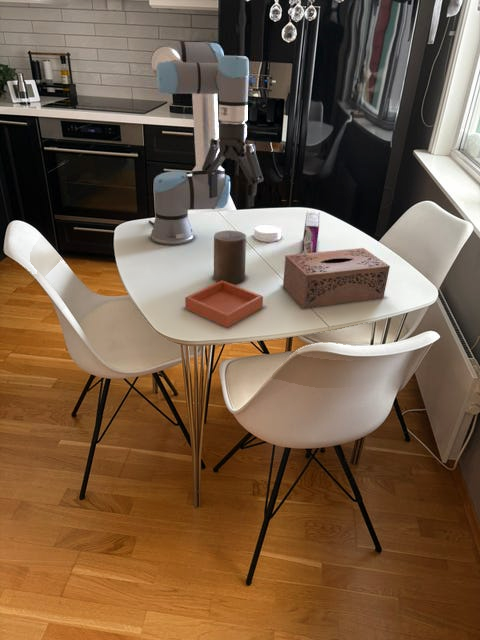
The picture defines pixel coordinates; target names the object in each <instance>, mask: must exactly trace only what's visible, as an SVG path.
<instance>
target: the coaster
mask: <svg viewBox="0 0 480 640" xmlns="http://www.w3.org/2000/svg"><path fill="white" fill-rule="evenodd" d="M253 231H254V232H253V233H254V234H253V238H254V239H256V240H257V241H259V242H266V243H271V242H278V241H279V240H281V236H282V233H281V232H282V229H281V228H280V227H279V226H276V225H274V224H273V225H272V224H261V225H257V226H255V227H254V230H253Z"/></svg>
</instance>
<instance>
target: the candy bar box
mask: <svg viewBox="0 0 480 640" xmlns="http://www.w3.org/2000/svg"><path fill="white" fill-rule="evenodd" d="M320 215H321V213H320V212H313V211H306V215H305V222H304V229H303V236H302V247H301V254H305V253H316V252H317V247H318V239H319V232H320V231H319V230H320Z"/></svg>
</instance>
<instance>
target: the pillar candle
mask: <svg viewBox="0 0 480 640" xmlns="http://www.w3.org/2000/svg"><path fill="white" fill-rule="evenodd" d="M246 252H247V235H246V234H245V233H244V232H242V231H239V230H222V231H216V232H215V233H214V234H213V279H214V280H215V281H217V282H219V281H221V280H223V281H226V282H228V283H231V284H233V285H236V284H240V283H242V282H243V281H245V280H246V279H245V278H246V258H247V257H246V256H247V255H246V254H247V253H246Z"/></svg>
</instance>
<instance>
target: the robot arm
mask: <svg viewBox="0 0 480 640" xmlns="http://www.w3.org/2000/svg"><path fill="white" fill-rule="evenodd" d="M249 62H250V61H249V58H248V57H247V56H245V55H244V56H243V55H225V54H224V50H223V48H222V46H221V45H220V44H218V43H217V42H209V41H178V40H176V41H175V40H174V41H168V42H166V43H163V44H161V45H159V46H158V47H156V48H155V49H154V50H153V52H152V53H151V57H150V66H151V67H150V68H151V70H152V71H153V74H154V75H155V76H156V86H157V90H158V92H159V93H161V94H169V95H176V94H178V95H179V94H180V95H181V94H188V95H189V94H191V101H192V117H193V135H194V154H195V166H194V167H193V169H192V170H191V175H188V173H187V172H186V171H184V170H173V171H172V170H171V171H166V172H162V173H160V174H158V175H156V176H155V177H154V179H153V197H154V214H155V218H154V221H152V220H148V223H149V224H151V226H153V228H152V230H151V232H150V233H151V240H152V241H153V242H154V243H156V244H160V245H166V246H167V245H168V246H177V245H183V244H188V243H190V242H192V240H193V239H194V230H193V228H192V225H191V222H190V219H189V212H188V211H194V210H195V211H197V210H198V211H199V210H217V209H224V208H225V207H226V206H227V205H228V202H229V198H230V193H231V178H230V176H229V175H227V174H225V173H226V172H225V168H223V166H222V164H223V163H224V161H225V160H226V159H228V160H229V159H230V160H233V161H235V162H236V163H238V165H239V166H240V168H241V170H242V173H243V174H244V176H245V178H246V180H247V182H248V183H246V185H245V186H246V187H245V189H246V190H245V208H246V209H249V208H253V207H254V206H255V196H256V195H257V188H258V187H257V186H258V184H259V183H261V182H263V181H264V176H263V173H262V170H261V166H260V164H259V159H258V157H257V154H256V144H254V143H251V144H246V138H247V137H248V136H247V135H248V130H247V129H248V125H247V123H246V122H247V121H248V100H249V99H248V98H249V79H250V78H249V76H250V63H249Z"/></svg>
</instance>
